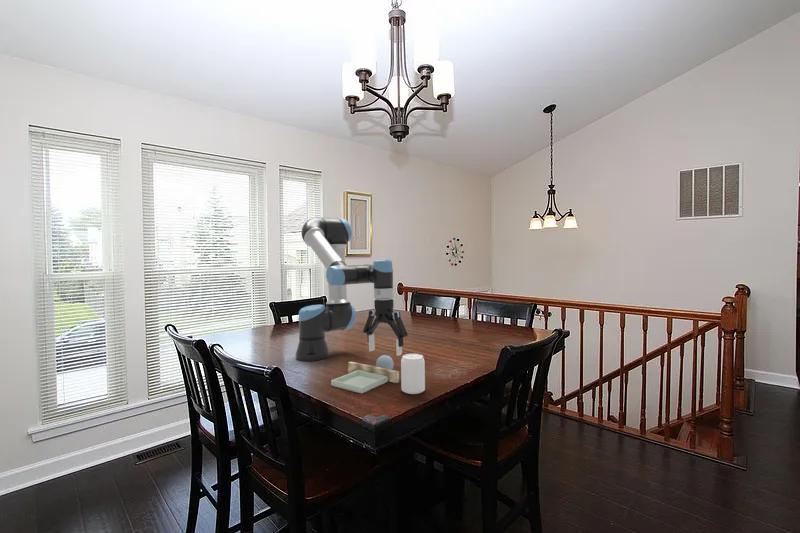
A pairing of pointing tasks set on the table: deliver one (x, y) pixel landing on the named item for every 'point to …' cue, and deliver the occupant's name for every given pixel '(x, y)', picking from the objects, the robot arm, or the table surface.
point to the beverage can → (412, 373)
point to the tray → (359, 381)
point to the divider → (374, 371)
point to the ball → (385, 362)
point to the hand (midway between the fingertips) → (385, 352)
